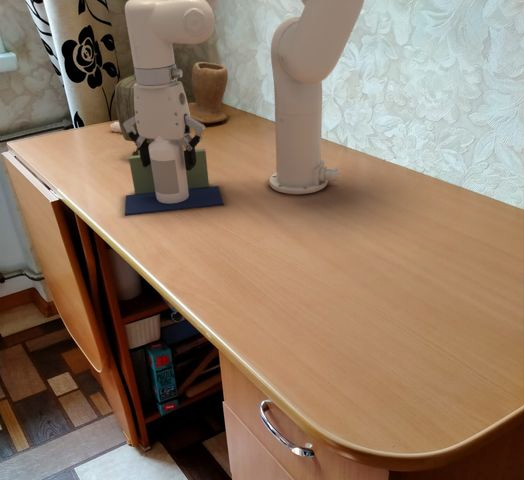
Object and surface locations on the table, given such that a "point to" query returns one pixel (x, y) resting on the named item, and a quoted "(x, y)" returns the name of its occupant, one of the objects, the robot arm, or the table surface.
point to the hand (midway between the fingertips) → (169, 166)
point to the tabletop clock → (126, 105)
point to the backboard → (146, 182)
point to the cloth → (151, 204)
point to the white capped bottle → (168, 170)
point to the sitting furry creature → (115, 127)
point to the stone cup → (208, 92)
